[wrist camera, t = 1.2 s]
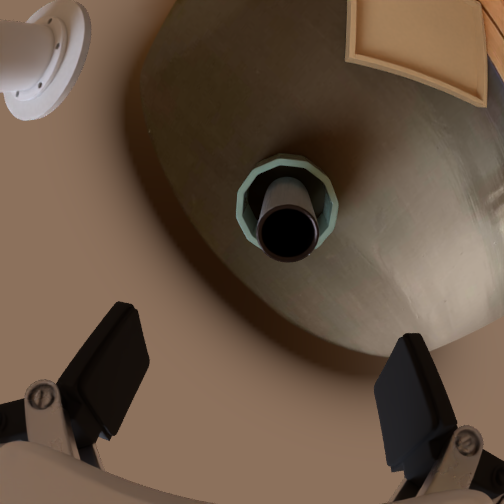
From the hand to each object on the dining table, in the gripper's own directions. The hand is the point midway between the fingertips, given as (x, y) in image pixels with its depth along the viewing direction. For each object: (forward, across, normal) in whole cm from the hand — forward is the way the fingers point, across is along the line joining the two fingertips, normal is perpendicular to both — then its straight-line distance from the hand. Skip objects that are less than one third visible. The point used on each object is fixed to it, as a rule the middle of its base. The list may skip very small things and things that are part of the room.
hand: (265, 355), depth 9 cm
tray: (+22, -14, -22) cm, 35 cm away
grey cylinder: (+22, -1, 0) cm, 22 cm away
